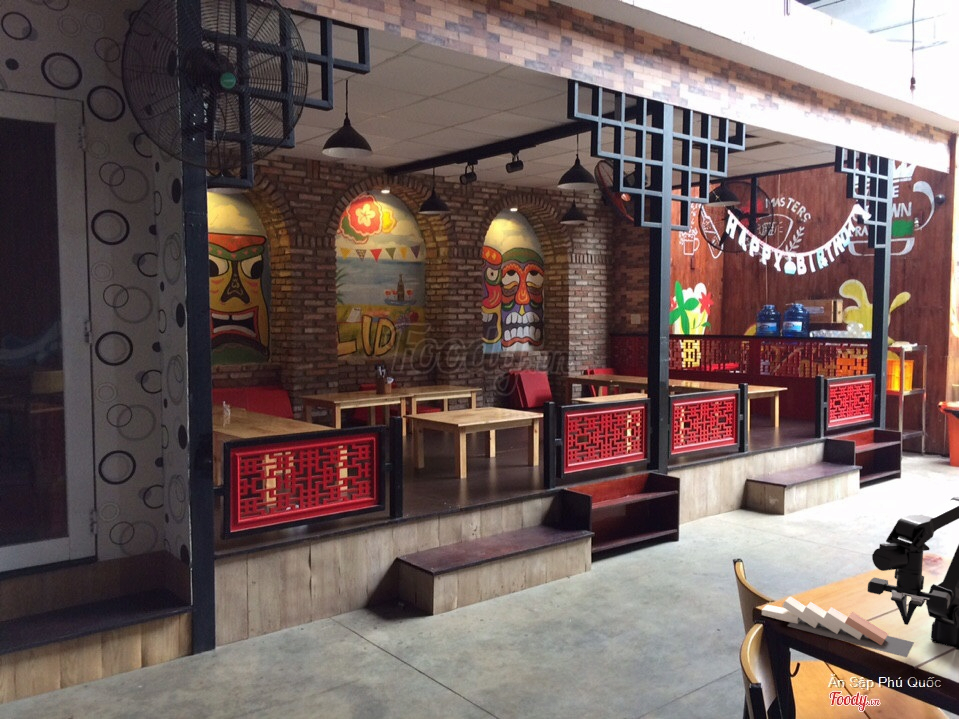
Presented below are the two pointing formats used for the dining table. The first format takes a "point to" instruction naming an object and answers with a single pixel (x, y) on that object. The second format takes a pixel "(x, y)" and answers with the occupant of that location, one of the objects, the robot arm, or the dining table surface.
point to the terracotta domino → (866, 628)
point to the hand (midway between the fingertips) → (906, 624)
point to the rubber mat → (888, 645)
